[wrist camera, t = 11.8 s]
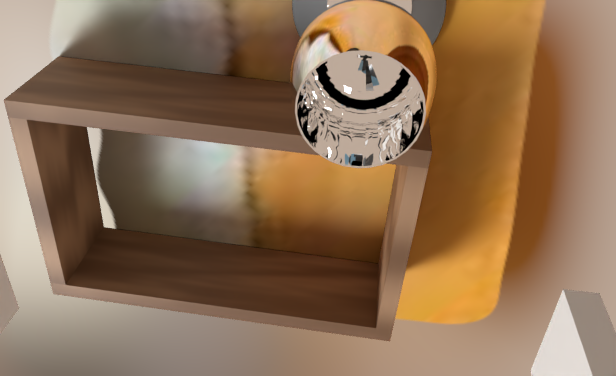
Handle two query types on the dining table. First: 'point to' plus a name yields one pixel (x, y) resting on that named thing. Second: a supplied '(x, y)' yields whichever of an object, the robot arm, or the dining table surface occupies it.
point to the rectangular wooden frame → (182, 251)
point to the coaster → (424, 9)
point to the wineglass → (363, 81)
